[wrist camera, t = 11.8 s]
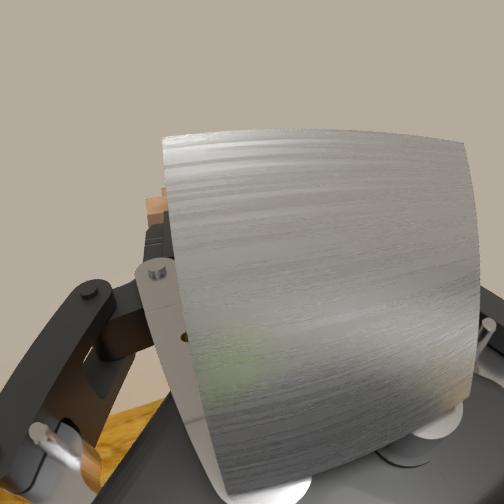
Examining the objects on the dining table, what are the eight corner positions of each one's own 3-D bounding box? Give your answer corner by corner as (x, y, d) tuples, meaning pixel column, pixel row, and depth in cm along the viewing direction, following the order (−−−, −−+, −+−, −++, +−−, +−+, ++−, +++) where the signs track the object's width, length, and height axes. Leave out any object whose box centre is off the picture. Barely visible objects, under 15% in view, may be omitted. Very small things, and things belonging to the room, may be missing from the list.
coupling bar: (227, 496, 2) (163, 137, 2) (190, 273, 28) (184, 236, 28) (469, 395, 3) (463, 143, 3) (226, 268, 28) (221, 231, 28)
